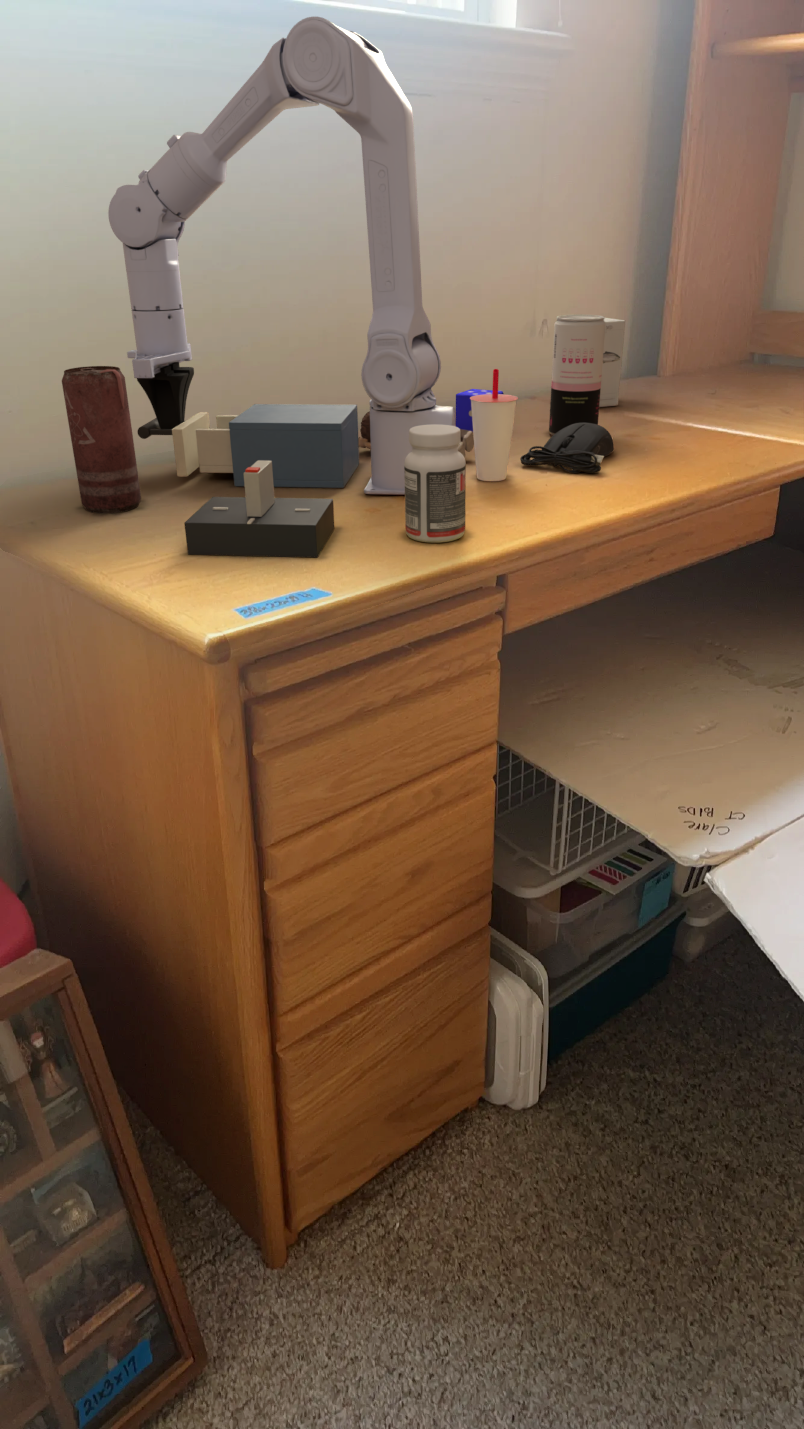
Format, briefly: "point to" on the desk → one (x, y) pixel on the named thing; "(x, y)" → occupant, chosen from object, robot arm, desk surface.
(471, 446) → the figurine
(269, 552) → the control panel
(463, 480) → the pill bottle
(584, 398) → the beverage can
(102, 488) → the can
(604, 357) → the white packaging box
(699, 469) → the desk surface
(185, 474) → the drawer
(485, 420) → the cup
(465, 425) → the die
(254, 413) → the compartment
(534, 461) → the computer mouse
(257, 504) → the grey block
